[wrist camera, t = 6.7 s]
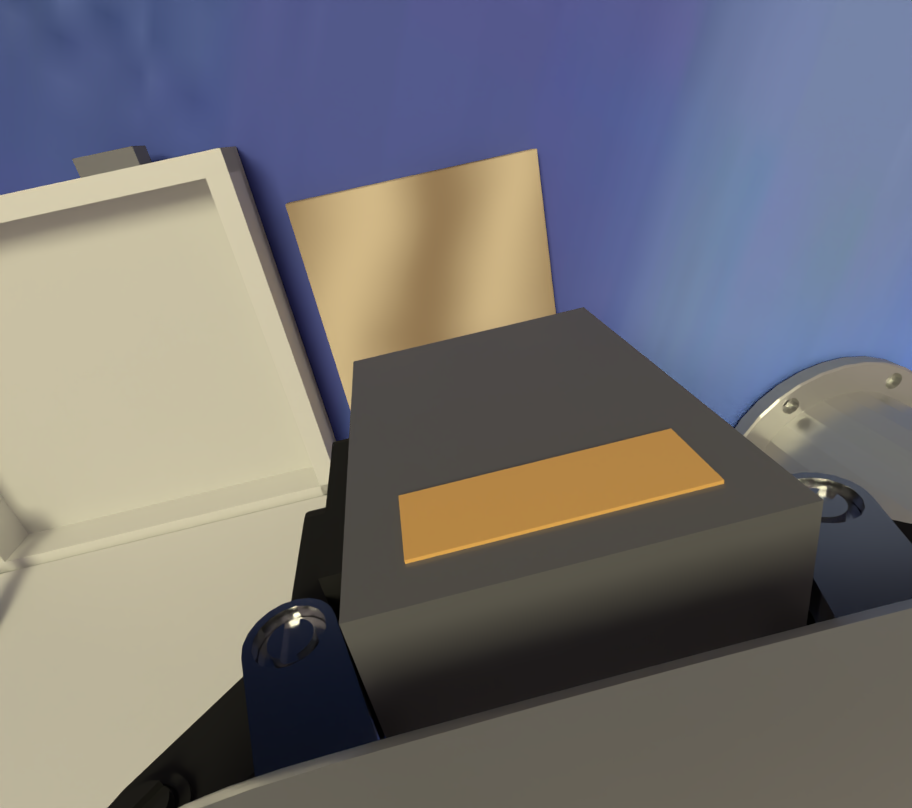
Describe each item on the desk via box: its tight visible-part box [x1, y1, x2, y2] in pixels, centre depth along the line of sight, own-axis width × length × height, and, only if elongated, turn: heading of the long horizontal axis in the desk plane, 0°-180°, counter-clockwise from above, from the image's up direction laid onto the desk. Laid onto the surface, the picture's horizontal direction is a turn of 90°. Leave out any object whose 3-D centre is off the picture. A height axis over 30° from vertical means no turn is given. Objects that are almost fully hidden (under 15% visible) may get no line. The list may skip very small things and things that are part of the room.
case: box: [0, 146, 336, 808], centre depth 18 cm, size 16×19×14 cm
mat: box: [286, 149, 556, 410], centre depth 24 cm, size 10×10×1 cm
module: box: [339, 307, 824, 738], centre depth 10 cm, size 5×5×7 cm
